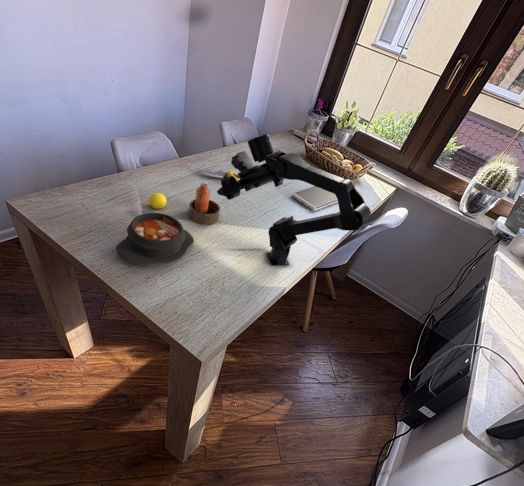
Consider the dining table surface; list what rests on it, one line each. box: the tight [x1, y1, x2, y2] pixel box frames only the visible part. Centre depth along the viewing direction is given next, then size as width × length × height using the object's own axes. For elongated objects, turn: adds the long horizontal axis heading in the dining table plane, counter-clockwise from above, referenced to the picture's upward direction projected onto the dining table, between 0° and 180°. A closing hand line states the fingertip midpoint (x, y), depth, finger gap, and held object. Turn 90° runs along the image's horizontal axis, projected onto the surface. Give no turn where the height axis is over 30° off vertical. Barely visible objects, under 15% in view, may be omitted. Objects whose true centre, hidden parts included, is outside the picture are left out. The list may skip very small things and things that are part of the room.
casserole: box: [115, 212, 195, 267], centre depth 111 cm, size 25×19×8 cm
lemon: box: [148, 192, 167, 210], centre depth 128 cm, size 7×5×5 cm
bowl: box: [187, 198, 221, 226], centre depth 130 cm, size 11×11×4 cm
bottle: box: [194, 182, 211, 214], centre depth 128 cm, size 5×5×12 cm
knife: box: [195, 167, 240, 181], centre depth 156 cm, size 8×3×25 cm
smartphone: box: [291, 186, 338, 212], centre depth 164 cm, size 13×27×2 cm, turn 135°
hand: (226, 188), depth 121 cm, fingers open, 9 cm apart
